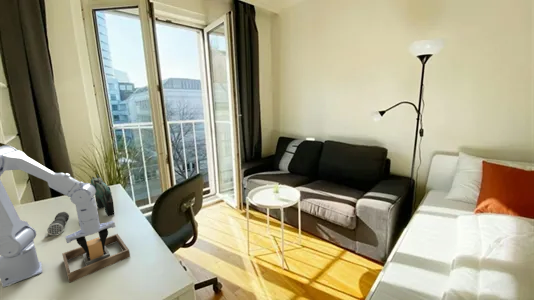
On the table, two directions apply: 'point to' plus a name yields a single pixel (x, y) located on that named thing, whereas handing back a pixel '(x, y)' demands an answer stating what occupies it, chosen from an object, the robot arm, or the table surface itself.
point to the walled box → (97, 262)
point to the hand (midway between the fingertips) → (95, 251)
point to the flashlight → (58, 223)
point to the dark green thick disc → (103, 195)
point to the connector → (95, 248)
